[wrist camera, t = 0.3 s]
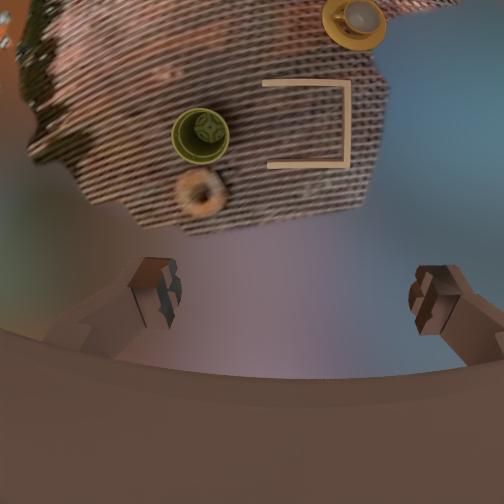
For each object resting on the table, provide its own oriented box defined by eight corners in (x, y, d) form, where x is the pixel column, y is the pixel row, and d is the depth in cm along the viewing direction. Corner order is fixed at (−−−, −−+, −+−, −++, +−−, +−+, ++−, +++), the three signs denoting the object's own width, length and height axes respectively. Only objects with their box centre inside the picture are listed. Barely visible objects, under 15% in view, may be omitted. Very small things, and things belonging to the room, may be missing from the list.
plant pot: (216, 160, 55) (206, 175, 48) (176, 132, 53) (161, 143, 45) (246, 122, 51) (241, 131, 44) (205, 93, 48) (192, 96, 41)
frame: (262, 79, 46) (261, 79, 45) (348, 80, 45) (350, 80, 43) (267, 165, 55) (267, 168, 54) (347, 164, 54) (349, 168, 52)
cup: (380, -5, 34) (390, -11, 30) (389, 52, 41) (400, 51, 36) (316, -8, 36) (320, -16, 32) (325, 50, 42) (331, 48, 38)
